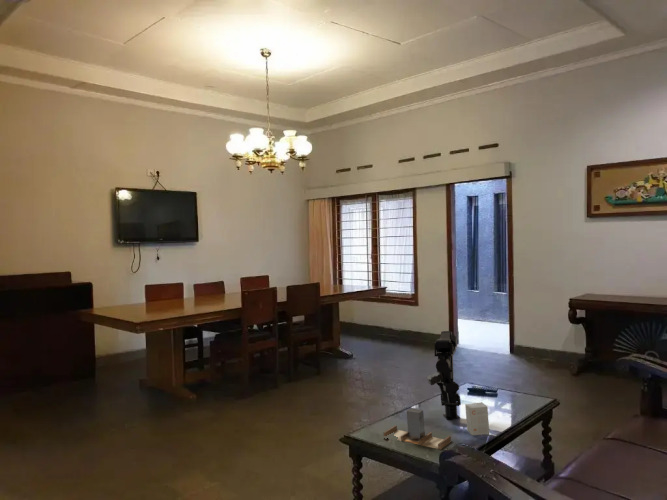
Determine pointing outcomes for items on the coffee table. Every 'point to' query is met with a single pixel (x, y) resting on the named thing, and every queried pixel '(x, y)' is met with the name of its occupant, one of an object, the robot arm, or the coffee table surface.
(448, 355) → the robot arm
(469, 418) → the small box
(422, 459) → the coffee table surface
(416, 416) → the block
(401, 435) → the slot rack
